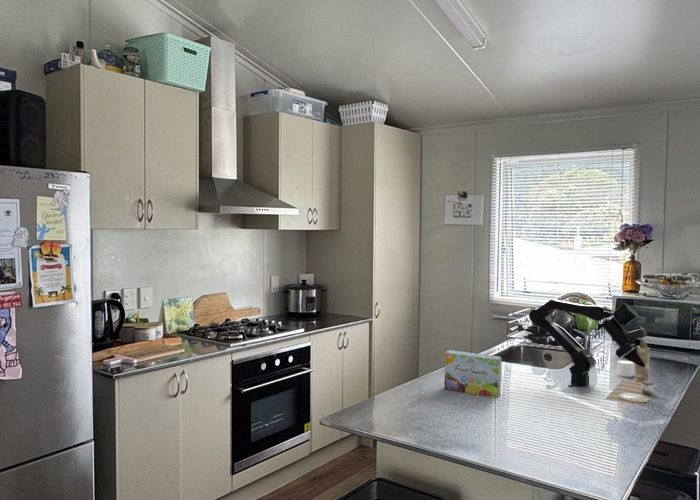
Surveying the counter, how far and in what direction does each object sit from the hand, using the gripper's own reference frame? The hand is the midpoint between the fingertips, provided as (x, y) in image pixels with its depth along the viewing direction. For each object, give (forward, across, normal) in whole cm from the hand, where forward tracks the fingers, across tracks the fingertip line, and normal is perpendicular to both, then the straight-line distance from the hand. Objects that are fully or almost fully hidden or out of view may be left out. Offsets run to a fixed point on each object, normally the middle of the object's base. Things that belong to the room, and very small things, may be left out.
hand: (646, 365), depth 219 cm
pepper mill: (+4, 0, +6) cm, 7 cm away
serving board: (+6, +4, +13) cm, 15 cm away
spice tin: (+8, +6, +9) cm, 14 cm away
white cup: (-1, +31, +20) cm, 37 cm away
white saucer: (+7, -5, +10) cm, 13 cm away
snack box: (-27, -37, +47) cm, 66 cm away
